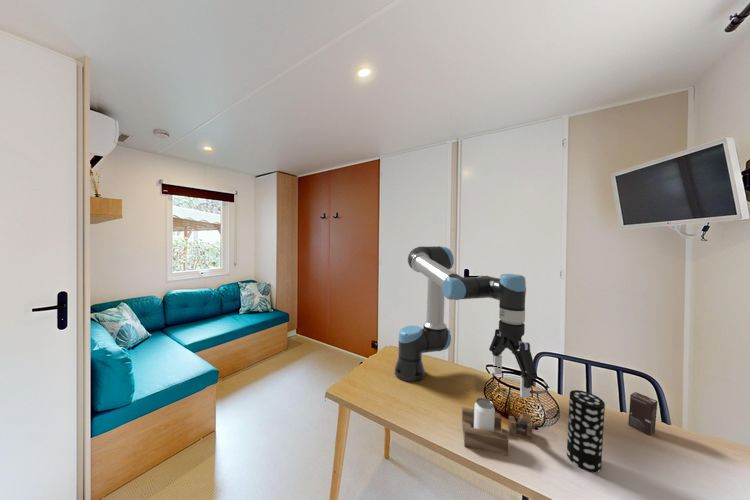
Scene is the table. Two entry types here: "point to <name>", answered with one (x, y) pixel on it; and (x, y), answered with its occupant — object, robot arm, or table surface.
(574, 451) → the white-spotted black cylinder
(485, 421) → the can
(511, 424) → the hitch block
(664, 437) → the table surface
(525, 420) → the keeper
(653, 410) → the box
